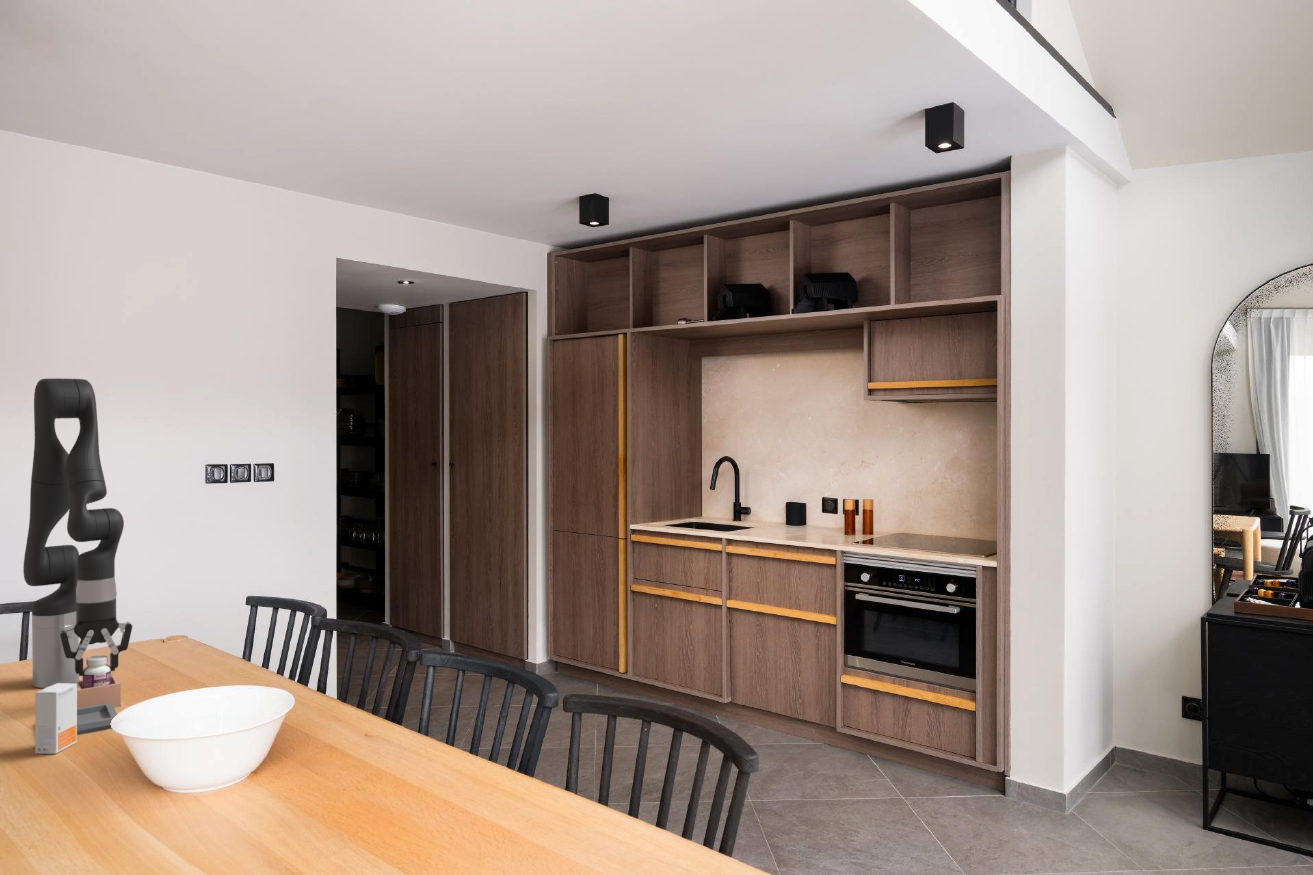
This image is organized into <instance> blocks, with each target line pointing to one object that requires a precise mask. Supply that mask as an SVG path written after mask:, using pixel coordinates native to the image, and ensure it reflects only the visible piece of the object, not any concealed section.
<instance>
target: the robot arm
mask: <svg viewBox="0 0 1313 875" xmlns="http://www.w3.org/2000/svg"><path fill="white" fill-rule="evenodd" d="M97 411H98V410H97V400H96V394H95V390H94V388H93V385H92V384H91V382H90V381H89V380H87V379H84V378H42V379H41V378H40V379H39V380H38V382H37V383H36V385H35V388H34V396H33V418H34V420H33V421H34V424H33V425H34V428H33V429H34V446H33V459H32V468H31V476H30V478H31V479H30V494H29V496H30V498H29V499H30V501H29V506H30V507H29V523H28V531H27V537H26V544H25V551H24V556H23V557H24V558H23V569H22V570H23V579H24V581H25V583H26V585H28V586H30V587H41V586H42V587H43V586H50V585H51V586H52V585H59V587H58V588H57V589H56V590H55V591H53V592H51V593H50V594H47V595H45V596H44V597H42V598H39V599H36V600H35V601H34V602H33V603H32V605H31V639H32V640H31V645H32V650H31V651H32V652H31V653H32V656H31V658H32V686H33V687H34V688H40V689H41V688H42V689H45V688H47V687H49V686H52V685H55V684H57V683H72V684H74V682H75V681H79V679H80V677H83V670H84V658H83V656H84V654H85V652H86V650H87V648H88V646H89V645H95V644H97V643H99V644H104V643H106V644H107V646H108V648H109V649H110V652H111V653H109V656H110V657H109V666H110V667H111V672H116V669H118V667H119V655H120V653H121V652H123V651H127V650H128V648H129V644H130V639H131V634H132V630H133V624H132V623H131V622H129V621H127V622H125V623H124V622H119V621H118V620H117V595H118V592H117V584H116V583H117V582H116V578H115V576H116V574H115V572H116V568H115V564H116V561H115V560H116V555H117V551H118V547H119V543H120V540H121V537H122V534H123V531H124V527H125V526H124V523H125V520H124V517H123V515H122V513H121V512H120V510H118V509H116V508H113V507H109V508H107V507H106V508H93V509H87V508H88V507H87V505H89V504H92V503H95V502H98V501H101V500H102V499H104V498H105V497H106V496H107V494H108V493H107V492H108V491H107V490H108V489H107V486H106V481H105V476H104V473H103V467H102V462H101V456H100V445H99V442H100V441H99V424H98V412H97ZM56 419H78V422H79V432H78V435H77V438H76V439H75V443H74V444H73V446H72V448H71V449H70V451H69V453H68V451H67V450H66V449H65V447H64V446H63V444H62V443H61V441H60V440H59V437H58V436H57V432H56V426H55V422H56ZM67 513H68V516H67V517H68V518H67V523H66V524H67V525H66V530H67V534H68V535H69V537H70V538H71V539H72V540H73V541H75V542H78V543H88V542H95V541H99V543H98V545H97V547H95V548H93V549H91V550H87V551H85V552H84V551H83V552H81V553H80V552H79V549H78V548H77V546H76V545H72V544H62V545H52V546H46V545H47V541H48V539H49V537H50V535H51V533H52V531H53V530H54V528H55V527H56V526H57V524H58V523H59V522H60V521H61V520H62V519H63V518H64V516H65V515H67ZM118 629H119V630H120V632H121V633H122V636H121V641H120V644H119V645H117V646H116V644H115V642H114V640H113V638H112V637H113V635H115V632H117V630H118ZM79 639H80V641H79Z"/></svg>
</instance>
